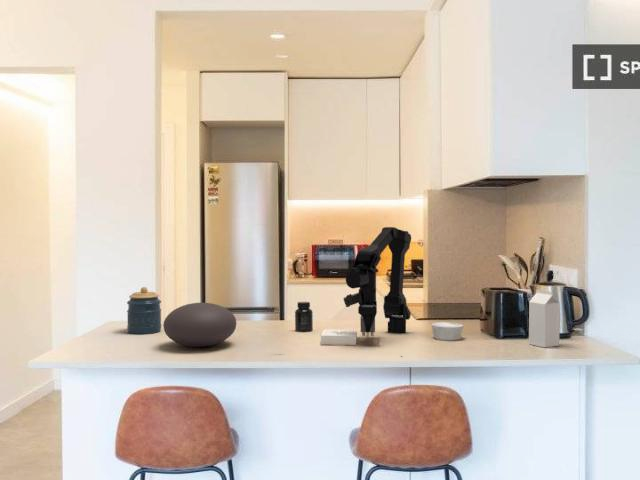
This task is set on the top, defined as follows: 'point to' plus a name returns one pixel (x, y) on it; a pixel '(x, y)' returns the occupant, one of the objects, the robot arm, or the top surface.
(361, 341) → the walnut board
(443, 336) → the ramekin
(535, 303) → the milk carton
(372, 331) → the charcoal cube
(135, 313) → the canister
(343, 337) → the socket
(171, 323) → the smooth stone
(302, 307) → the supplement bottle
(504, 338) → the top surface
